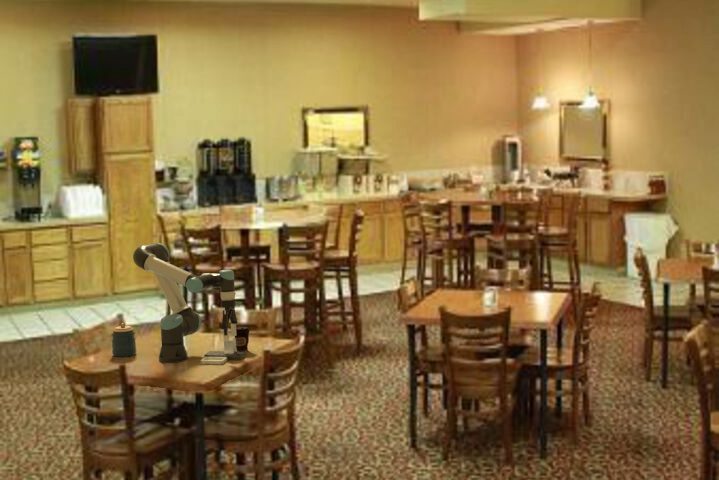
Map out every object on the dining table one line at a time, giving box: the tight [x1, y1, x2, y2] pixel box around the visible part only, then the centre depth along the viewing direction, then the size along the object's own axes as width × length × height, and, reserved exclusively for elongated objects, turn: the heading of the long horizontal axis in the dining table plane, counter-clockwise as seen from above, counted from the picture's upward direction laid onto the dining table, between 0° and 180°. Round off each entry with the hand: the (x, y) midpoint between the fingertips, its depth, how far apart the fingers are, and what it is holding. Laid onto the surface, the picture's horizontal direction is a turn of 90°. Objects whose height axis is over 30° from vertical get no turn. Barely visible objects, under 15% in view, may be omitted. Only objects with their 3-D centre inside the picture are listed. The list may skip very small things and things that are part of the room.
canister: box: [110, 322, 137, 358], centre depth 550 cm, size 13×13×18 cm
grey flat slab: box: [203, 350, 246, 361], centre depth 537 cm, size 20×9×2 cm, turn 81°
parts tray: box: [199, 357, 229, 365], centre depth 528 cm, size 12×9×2 cm
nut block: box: [223, 338, 236, 355], centre depth 536 cm, size 5×5×10 cm
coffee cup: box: [234, 326, 250, 353], centre depth 551 cm, size 9×8×13 cm
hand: (230, 338), depth 535 cm, fingers open, 13 cm apart
